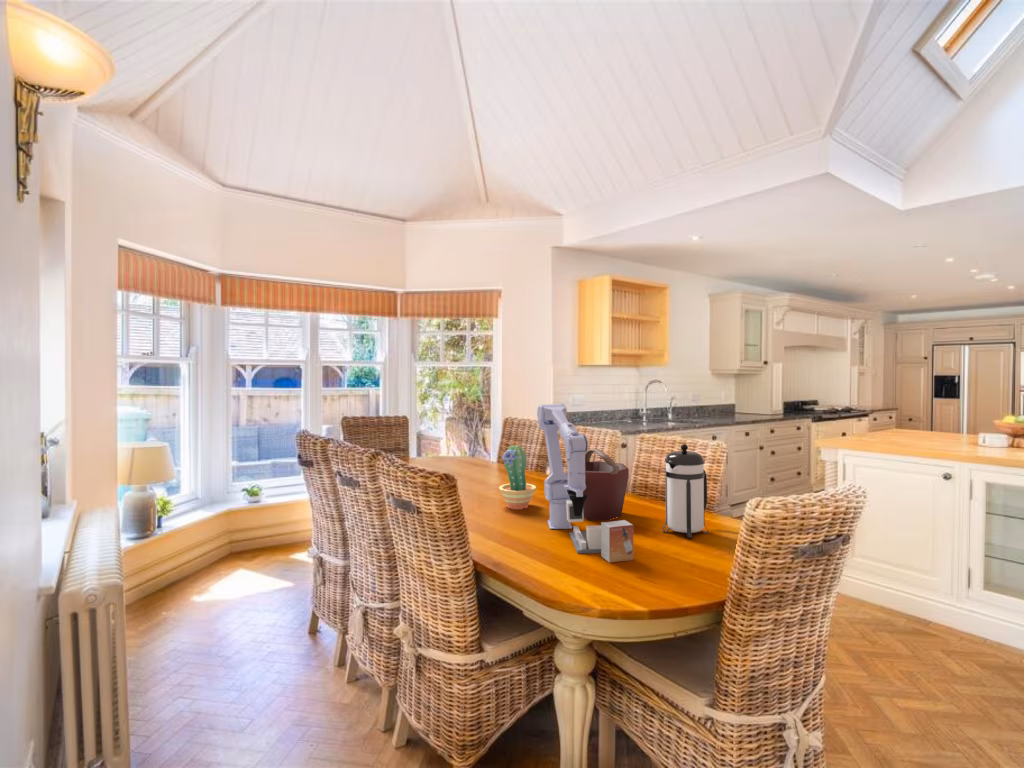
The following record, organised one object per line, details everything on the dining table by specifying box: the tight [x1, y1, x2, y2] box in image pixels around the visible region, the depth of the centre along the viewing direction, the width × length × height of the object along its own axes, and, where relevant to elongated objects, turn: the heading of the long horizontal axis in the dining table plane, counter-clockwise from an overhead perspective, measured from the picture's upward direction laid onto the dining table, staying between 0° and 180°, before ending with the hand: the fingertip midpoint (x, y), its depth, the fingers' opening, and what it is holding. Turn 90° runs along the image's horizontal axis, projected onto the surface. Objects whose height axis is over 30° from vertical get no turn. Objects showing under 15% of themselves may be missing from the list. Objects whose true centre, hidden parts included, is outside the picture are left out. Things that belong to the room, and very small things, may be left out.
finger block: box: [566, 500, 585, 523], centre depth 171 cm, size 4×5×6 cm
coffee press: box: [661, 443, 709, 540], centre depth 179 cm, size 17×16×30 cm
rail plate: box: [569, 524, 601, 554], centre depth 169 cm, size 18×12×7 cm, turn 2°
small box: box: [600, 519, 634, 563], centre depth 155 cm, size 8×6×10 cm
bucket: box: [583, 448, 630, 521], centre depth 201 cm, size 24×22×25 cm
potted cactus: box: [498, 444, 537, 510], centre depth 215 cm, size 15×15×25 cm
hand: (577, 513), depth 171 cm, fingers closed on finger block, 4 cm apart
